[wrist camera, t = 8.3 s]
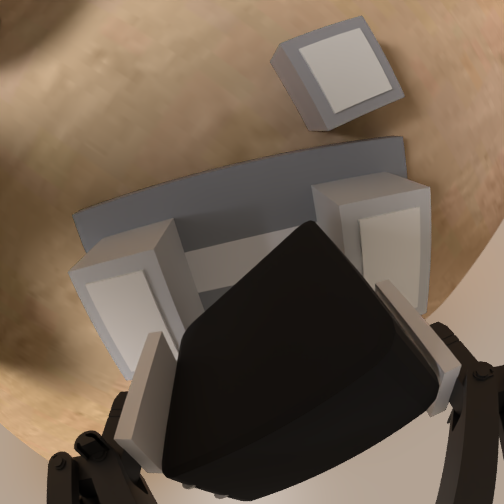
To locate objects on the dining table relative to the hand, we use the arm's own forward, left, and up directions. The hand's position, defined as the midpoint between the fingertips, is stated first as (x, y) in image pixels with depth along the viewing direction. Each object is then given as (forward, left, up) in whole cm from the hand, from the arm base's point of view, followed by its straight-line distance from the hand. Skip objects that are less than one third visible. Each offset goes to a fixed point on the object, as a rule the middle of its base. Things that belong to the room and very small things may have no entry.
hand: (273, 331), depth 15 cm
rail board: (0, 0, -10) cm, 10 cm away
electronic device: (0, 0, -3) cm, 3 cm away
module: (+8, +12, -11) cm, 18 cm away
